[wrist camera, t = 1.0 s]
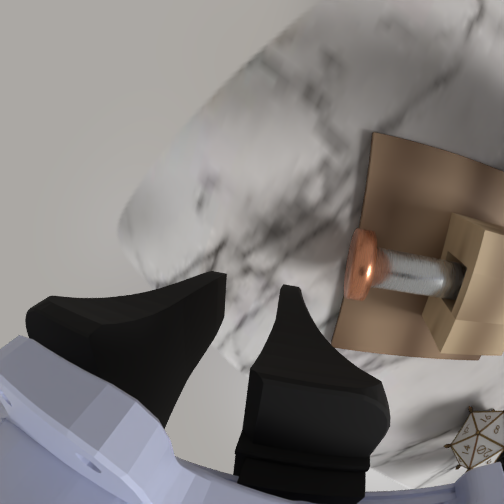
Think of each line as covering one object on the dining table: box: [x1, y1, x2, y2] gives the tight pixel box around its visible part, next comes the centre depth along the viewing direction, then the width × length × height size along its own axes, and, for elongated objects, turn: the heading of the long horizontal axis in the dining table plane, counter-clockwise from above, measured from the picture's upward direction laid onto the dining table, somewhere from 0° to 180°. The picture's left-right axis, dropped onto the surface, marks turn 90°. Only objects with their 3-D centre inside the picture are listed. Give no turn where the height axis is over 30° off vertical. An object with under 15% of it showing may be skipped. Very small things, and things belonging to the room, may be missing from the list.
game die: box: [444, 406, 504, 473], centre depth 17 cm, size 9×8×10 cm
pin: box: [344, 228, 467, 301], centre depth 15 cm, size 10×4×4 cm, turn 85°
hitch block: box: [331, 132, 504, 360], centre depth 15 cm, size 15×16×5 cm
